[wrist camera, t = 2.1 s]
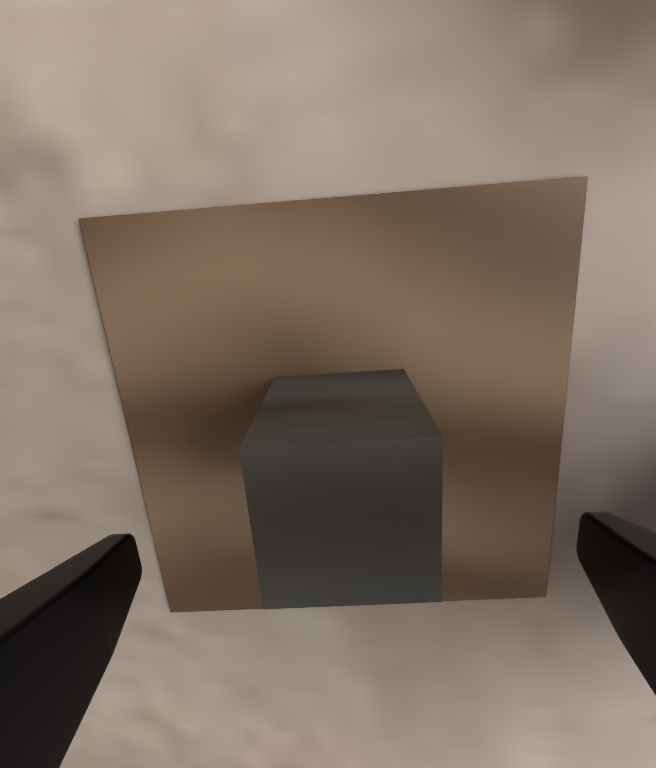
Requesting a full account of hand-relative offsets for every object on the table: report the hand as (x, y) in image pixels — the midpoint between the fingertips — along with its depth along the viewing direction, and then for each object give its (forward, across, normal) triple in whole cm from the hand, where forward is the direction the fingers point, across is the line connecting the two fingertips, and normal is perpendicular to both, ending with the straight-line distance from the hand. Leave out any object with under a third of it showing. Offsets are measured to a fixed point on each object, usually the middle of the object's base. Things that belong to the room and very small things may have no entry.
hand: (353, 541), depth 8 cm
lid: (+6, 0, 0) cm, 6 cm away
